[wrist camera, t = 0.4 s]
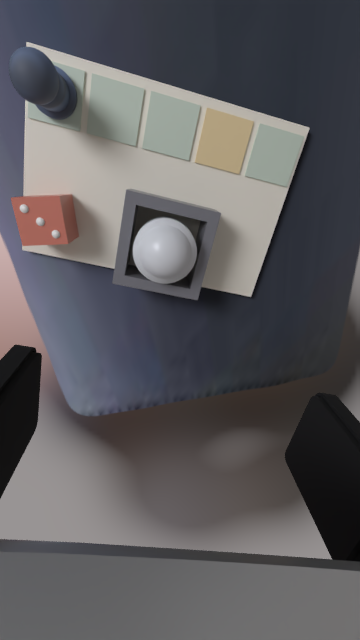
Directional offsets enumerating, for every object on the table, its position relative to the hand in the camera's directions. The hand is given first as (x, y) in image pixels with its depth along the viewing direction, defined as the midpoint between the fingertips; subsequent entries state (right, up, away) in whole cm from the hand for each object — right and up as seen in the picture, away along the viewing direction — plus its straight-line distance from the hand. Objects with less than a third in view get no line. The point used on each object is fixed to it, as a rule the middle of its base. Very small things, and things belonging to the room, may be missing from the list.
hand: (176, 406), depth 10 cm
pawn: (-10, +22, +15) cm, 29 cm away
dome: (-1, +10, +19) cm, 21 cm away
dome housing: (-2, +12, +22) cm, 25 cm away
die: (-12, +13, +20) cm, 27 cm away
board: (-2, +16, +20) cm, 25 cm away
